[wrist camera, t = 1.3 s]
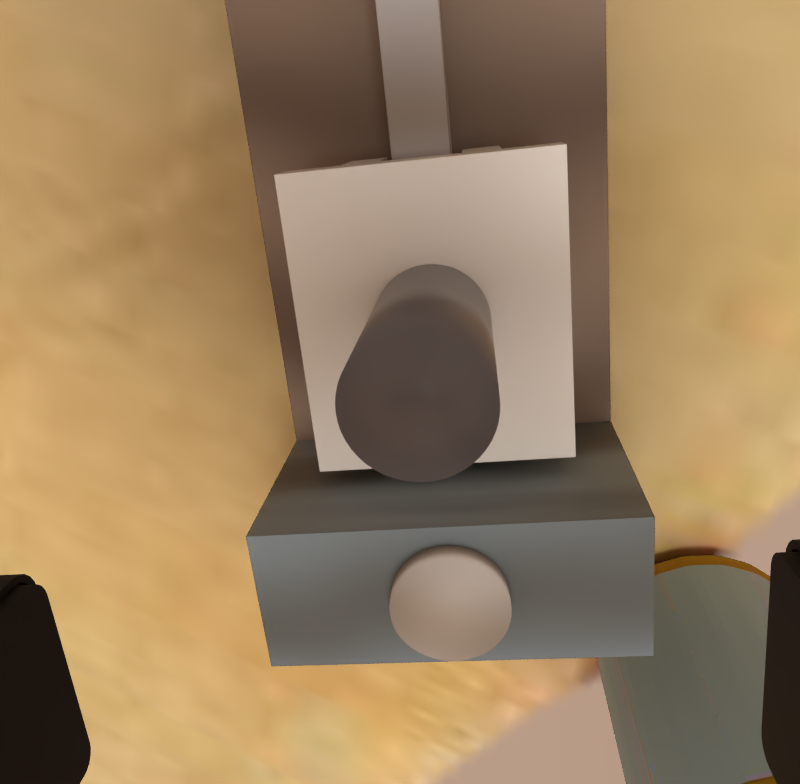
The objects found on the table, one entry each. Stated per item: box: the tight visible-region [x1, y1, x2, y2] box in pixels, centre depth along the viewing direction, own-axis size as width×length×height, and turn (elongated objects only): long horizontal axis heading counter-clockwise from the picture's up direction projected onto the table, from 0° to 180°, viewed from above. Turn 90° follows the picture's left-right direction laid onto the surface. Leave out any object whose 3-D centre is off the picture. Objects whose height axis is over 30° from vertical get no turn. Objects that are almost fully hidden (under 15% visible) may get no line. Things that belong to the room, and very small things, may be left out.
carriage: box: [274, 142, 576, 482], centre depth 18 cm, size 8×7×9 cm
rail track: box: [225, 0, 655, 666], centre depth 18 cm, size 28×10×8 cm, turn 6°
